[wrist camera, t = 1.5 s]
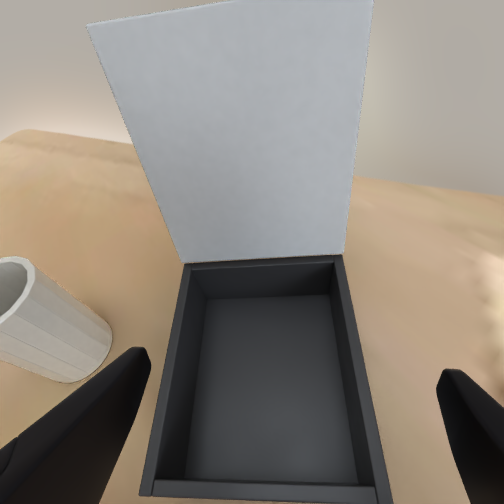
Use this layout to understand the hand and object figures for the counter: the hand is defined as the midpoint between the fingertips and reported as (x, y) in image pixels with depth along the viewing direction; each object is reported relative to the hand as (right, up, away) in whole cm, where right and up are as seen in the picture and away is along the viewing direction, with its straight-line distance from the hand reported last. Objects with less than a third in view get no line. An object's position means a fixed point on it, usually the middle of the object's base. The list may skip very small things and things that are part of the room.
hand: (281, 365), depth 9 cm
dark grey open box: (0, -6, +14) cm, 15 cm away
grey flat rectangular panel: (-1, +8, +8) cm, 12 cm away
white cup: (-16, -5, +17) cm, 25 cm away
